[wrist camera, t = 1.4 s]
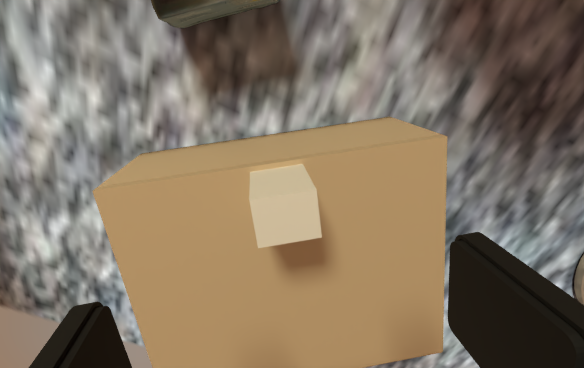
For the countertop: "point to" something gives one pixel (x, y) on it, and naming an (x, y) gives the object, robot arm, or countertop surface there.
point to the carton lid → (288, 259)
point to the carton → (266, 148)
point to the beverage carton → (202, 10)
